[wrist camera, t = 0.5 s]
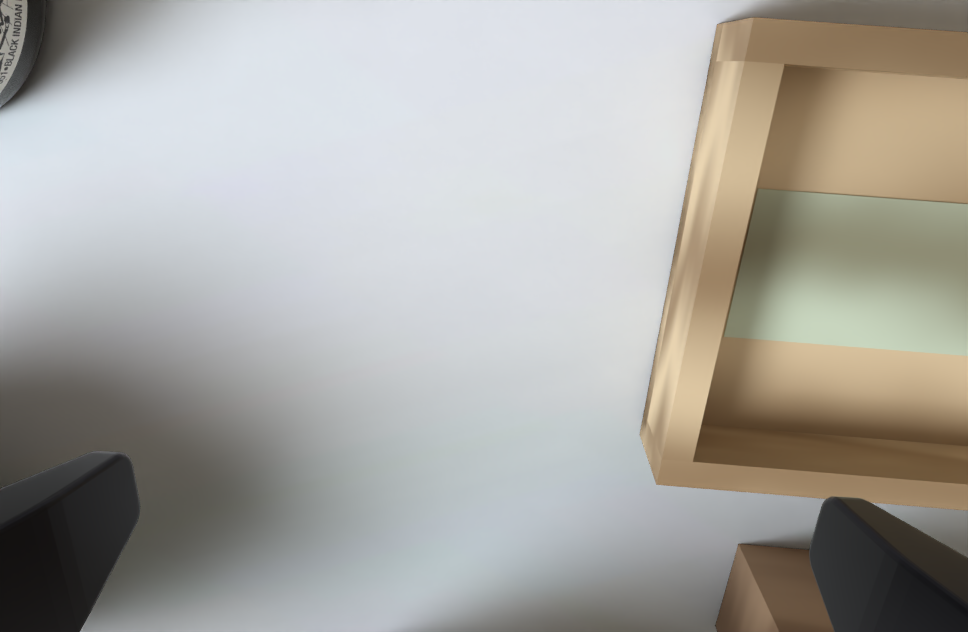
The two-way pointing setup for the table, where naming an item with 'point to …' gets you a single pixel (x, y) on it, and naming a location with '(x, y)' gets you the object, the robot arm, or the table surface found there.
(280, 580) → the table surface
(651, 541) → the table surface
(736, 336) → the wooden tray
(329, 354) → the table surface
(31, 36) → the ink bottle
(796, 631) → the brown wooden block
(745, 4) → the table surface
